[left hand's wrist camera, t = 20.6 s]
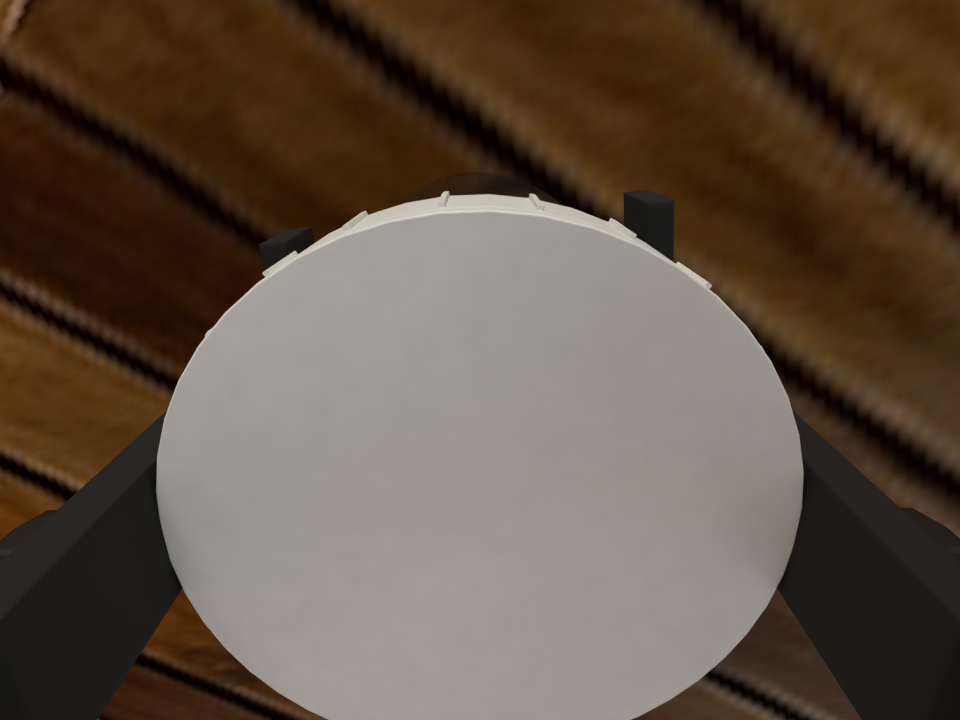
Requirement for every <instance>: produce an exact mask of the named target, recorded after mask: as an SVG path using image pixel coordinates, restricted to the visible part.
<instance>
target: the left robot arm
mask: <svg viewBox="0 0 960 720" xmlns="http://www.w3.org/2000/svg"><path fill="white" fill-rule="evenodd" d="M792 412H793V415H794V419H795V422H796V425H797V429H798V432H799V438H800V446H801V454H802V463H803V471H804V475H803V500H802V511H801V515H800V520H799V524H798V528H797V533H796V537H795V541H794V545H793V549H792V552H791V556H790V558H789V561H788V564H787V567H786V569H785V572H784V575H783V577H782V579H781V581H780V583H779V584H778V586H777V588H778V590H779V592H780V593H781V595H782V596H783V598H784V599H785V601H786V602H787V604H788V605H789V607H790V609H791V610H792V612H793V613H794V615H795V616H796V618H797V619H798V621H799V623H800V624H801V626H802V627H803V629H804V630H805V632H806V633H807V635H808V637H809V638H810V640H811V641H812V643H813V644H814V646H815V647H816V649H817V651H818V652H819V654H820V655H821V657H822V658H823V660H824V661H825V663H826V665H827V666H828V668H829V669H830V671H831V672H832V674H833V675H834V677H835V678H836V680H837V682H838V683H839V685H840V686H841V688H842V689H843V691H844V692H845V694H846V696H847V697H848V699H849V700H850V702H851V703H852V705H853V706H854V708H855V710H856V711H857V713H858V714H859V716H860V717H861V719H862V720H960V538H958V537H957V536H956V535H955V534H954V533H953V532H951V531H950V530H949V529H948V528H947V527H945V526H943V525H942V524H940V523H938V522H936V521H934V520H933V519H931V518H929V517H927V516H925V515H924V514H922V513H920V512H918V511H916V510H915V509H913V508H899V507H898V506H897V505H896V504H895V503H894V502H893V501H891V500H890V499H889V498H888V497H887V496H886V495H885V494H884V493H883V492H882V491H880V490H879V489H878V488H877V487H876V486H875V485H874V484H873V483H872V482H871V481H869V480H868V479H867V478H866V477H865V476H864V475H863V474H862V473H861V472H860V471H858V470H857V469H856V468H855V467H854V466H853V465H852V464H851V463H850V462H849V461H847V460H846V459H845V458H844V457H843V456H842V455H841V454H840V453H839V452H838V451H836V450H835V449H834V448H833V447H832V446H831V445H830V444H829V443H828V442H827V441H825V440H824V439H823V438H822V437H821V436H820V435H819V434H818V433H817V432H816V431H814V430H813V429H812V428H811V427H810V426H809V425H808V424H807V423H806V422H805V421H803V420H802V419H801V418H800V417H799V416H798V415H797V414H796V413H795V412H794V411H792ZM166 413H167V411H166V412H165V413H164V414H163V415H162V416H161V417H159V418H158V419H157V420H156V421H155V422H154V423H153V424H152V425H151V426H150V427H148V428H147V429H146V430H145V431H144V432H143V433H142V434H141V435H140V436H139V437H137V438H136V439H135V440H134V441H133V442H132V443H131V444H130V445H129V446H128V447H126V448H125V449H124V450H123V451H122V452H121V453H120V454H119V455H118V456H117V457H115V458H114V459H113V460H112V461H111V462H110V463H109V464H108V465H107V466H106V467H104V468H103V469H102V470H101V471H100V472H99V473H98V474H97V475H96V476H95V477H93V478H92V479H91V480H90V481H89V482H88V483H87V484H86V485H85V486H84V487H82V488H81V489H80V490H79V491H78V492H77V493H76V494H75V495H74V496H73V497H71V498H70V499H69V500H68V501H67V502H66V503H65V504H64V505H63V506H62V507H60V508H59V509H58V510H47V511H46V512H44V513H42V514H40V515H39V516H37V517H35V518H33V519H31V520H30V521H28V522H26V523H24V524H22V525H21V526H19V527H17V528H15V529H14V530H12V531H11V532H10V533H9V534H8V535H7V536H6V537H4V538H3V539H2V540H1V541H0V720H98V718H99V717H100V715H101V714H102V712H103V711H104V709H105V707H106V706H107V704H108V703H109V701H110V700H111V698H112V697H113V695H114V693H115V692H116V690H117V689H118V687H119V686H120V684H121V683H122V681H123V679H124V678H125V676H126V675H127V673H128V672H129V670H130V669H131V667H132V665H133V664H134V662H135V661H136V659H137V658H138V656H139V655H140V653H141V652H142V650H143V648H144V647H145V645H146V644H147V642H148V641H149V639H150V638H151V636H152V634H153V633H154V631H155V630H156V628H157V627H158V625H159V624H160V622H161V620H162V619H163V617H164V616H165V614H166V613H167V611H168V610H169V608H170V606H171V605H172V603H173V602H174V600H175V599H176V597H177V596H178V594H179V592H180V591H181V589H182V585H181V583H180V581H179V579H178V577H177V574H176V572H175V570H174V568H173V566H172V563H171V561H170V558H169V554H168V550H167V547H166V543H165V539H164V535H163V531H162V527H161V522H160V518H159V510H158V503H157V495H156V481H157V454H158V449H159V444H160V439H161V434H162V429H163V423H164V418H165V416H166Z"/></svg>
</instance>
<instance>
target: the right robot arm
mask: <svg viewBox="0 0 960 720" xmlns="http://www.w3.org/2000/svg"><path fill="white" fill-rule="evenodd" d="M624 226H625V227H626V228H627V229H629V230H630V231H632V232H633V233H635V234H636V235H637V236H636V238H638V239H640V240H642V241H643V242H645V243H647V244H648V245H649V246H651V247H652V248H654V249H655V250H657V251H658V252H659V253H661V254H662V255H664V256H665V257H667V258H668V259H669V260H671V261H672V262H673V242H674V200H672V199H670V198H667V197H664V196H662V195H659V194H656V193H654V192H651V191H649V190H645V191H636V192H626V193H624ZM313 244H314V238H313V233H312V229H311V227H303V228H294V229H287V230H286V231H284V232H282V233H280V234H278V235H276V236H274V237H273V238H271V239H269V240H267V241H265V242H263V243H261V244H259V248H260V252H261V256H262V260H263V264H264V268H265V271H266V270H267V269H268V268H270V267H271V266H273V265H274V264H276V263H277V262H279V261H280V260H282V259H283V258H285V257H286V256H288V255H289V254H291V253H292V252H294V251H296V252H297V253H298V254H299V253H301V252H302V251H304V250H305V249H307V248H308V247H310V246H311V245H313Z"/></svg>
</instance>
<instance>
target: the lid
mask: <svg viewBox="0 0 960 720" xmlns="http://www.w3.org/2000/svg"><path fill="white" fill-rule="evenodd" d="M636 236H637V235H636V234H635V233H633V232H632V231H630V230H629V229H627V228H626V227H625V226H623V225H622V224H620V223H619V222H617V221H616V220H614V219H612V218H610V220H609V222H607V221H604V220H601V219H599V218H596V217H594V216H591V215H589V214H586V213H584V212H581V211H578V210H576V209H573V208H570V207H565V206H561V205H557V204H553V203H549V202H544V201H540V200H539V198H538V197H537V196H536V195H535V194H529V198H522V197H512V196H502V195H492V194H483V195H457V196H450V194H449V191H445V192H443V193H442V195H441V197H438V198H432V199H426V200H420V201H415V202H409V203H404V204H401V205H398V206H395V207H392V208H389V209H385V210H382V211H379V212H376V213H373V214H370V215H368V214H367V212H366V211H364V212H362V213H360V214H359V215H357V216H356V217H354V218H353V219H352V220H350V221H349V222H348V223H346V224H345V225H343V226H342V228H340V229H337V230H335V231H333V232H331V233H329V234H328V235H326V236H325V237H323V238H322V239H320V240H319V241H317V242H316V243H314V244H313V245H311V246H310V247H308V248H307V249H305V250H304V251H302V252H301V253H299V254H298V253H297V252H296V251H294V252H292V253H291V254H289V255H288V256H286V257H285V258H283V259H282V260H280V261H279V262H277V263H276V264H274V265H273V266H271V267H270V268H268V269H267V270H266V271H264V272H263V273H262V274H263V275H264V276H265V278H264V279H262V280H261V281H260V282H258V283H257V284H256V285H255V286H254V287H253V288H252V289H250V290H249V291H248V292H247V293H246V294H245V295H244V296H243V297H242V298H241V299H240V300H238V301H237V302H236V303H235V304H234V305H233V306H232V307H231V308H230V309H229V310H227V311H226V312H225V313H224V315H223V316H222V317H221V318H220V320H219V321H218V322H217V323H216V325H215V326H214V327H213V328H212V329H210V330H209V331H208V332H207V333H206V335H205V338H204V340H203V341H202V342H201V343H200V345H199V346H198V347H197V349H196V351H195V353H194V354H193V356H192V358H191V360H190V361H189V363H188V365H187V367H186V369H185V370H184V372H183V374H182V376H181V377H180V379H179V381H178V383H177V386H176V389H175V391H174V394H173V397H172V399H171V402H170V405H169V407H168V410H167V413H166V416H165V418H164V423H163V429H162V434H161V439H160V444H159V449H158V454H157V481H156V495H157V503H158V510H159V518H160V522H161V527H162V531H163V535H164V539H165V543H166V547H167V550H168V554H169V558H170V561H171V563H172V566H173V568H174V570H175V572H176V574H177V577H178V579H179V581H180V583H181V585H182V588H183V590H184V592H185V594H186V595H187V597H188V598H189V600H190V602H191V603H192V605H193V606H194V608H195V610H196V611H197V613H198V614H199V616H200V617H201V619H202V621H203V622H204V623H205V624H206V626H207V627H208V628H209V629H210V630H211V632H212V633H213V634H214V635H215V637H216V638H217V639H218V640H219V641H220V643H221V644H222V645H223V646H224V647H225V648H226V649H227V650H228V651H229V652H230V653H231V654H232V655H233V656H234V657H235V658H236V659H237V660H238V661H239V662H240V663H241V664H243V665H244V666H245V667H246V668H247V669H248V670H249V671H250V672H251V673H253V674H254V675H255V676H257V677H258V678H259V679H261V680H262V681H263V682H265V683H266V684H267V685H269V686H270V687H271V688H273V689H274V690H275V691H277V692H278V693H280V694H281V695H283V696H285V697H286V698H288V699H290V700H292V701H293V702H295V703H297V704H298V705H300V706H302V707H303V708H305V709H307V710H309V711H311V712H313V713H315V714H317V715H319V716H322V717H324V718H326V719H328V720H632V719H634V718H636V717H639V716H641V715H643V714H645V713H646V712H648V711H650V710H652V709H654V708H656V707H658V706H659V705H661V704H663V703H665V702H667V701H669V700H670V699H672V698H673V697H675V696H676V695H678V694H679V693H681V692H682V691H684V690H685V689H687V688H688V687H690V686H691V685H693V684H694V683H695V682H697V681H698V680H700V679H701V678H702V677H703V676H704V675H705V674H707V673H708V672H709V671H710V670H711V669H712V668H714V667H715V666H716V665H717V664H718V663H719V662H721V661H722V660H723V659H724V658H725V657H726V656H727V655H728V654H729V653H730V652H731V651H732V649H733V648H734V647H735V646H736V645H737V644H738V643H739V642H740V641H741V640H742V639H743V638H744V636H745V635H746V634H747V633H748V632H749V630H750V629H751V628H752V626H753V625H754V623H755V622H756V621H757V619H758V618H759V616H760V615H761V614H762V612H763V611H764V609H765V608H766V607H767V605H768V603H769V601H770V600H771V598H772V596H773V594H774V592H775V590H776V588H777V586H778V584H779V583H780V581H781V579H782V577H783V575H784V572H785V569H786V567H787V564H788V561H789V558H790V556H791V552H792V549H793V545H794V541H795V537H796V533H797V528H798V524H799V520H800V515H801V511H802V500H803V475H804V471H803V463H802V454H801V446H800V438H799V432H798V429H797V425H796V422H795V419H794V415H793V412H792V408H791V405H790V401H789V398H788V396H787V394H786V392H785V389H784V387H783V385H782V383H781V381H780V379H779V377H778V375H777V373H776V371H775V368H774V366H773V364H772V362H771V361H770V359H769V358H768V356H767V355H766V353H765V352H764V349H763V348H762V346H760V345H759V343H758V342H757V340H756V339H755V337H754V336H753V335H752V333H751V332H750V330H749V329H748V327H747V326H746V325H745V324H744V323H743V322H742V321H741V320H740V319H739V318H738V317H737V316H736V315H735V314H734V313H733V312H732V311H731V309H730V308H729V307H728V306H727V305H726V304H725V303H724V302H723V301H722V300H721V299H720V298H719V297H718V296H717V295H716V294H715V293H713V292H712V291H711V290H709V289H710V288H711V287H712V285H711V284H710V283H709V282H707V281H706V280H704V279H703V278H701V277H700V276H698V275H697V274H695V273H694V272H693V271H691V270H690V269H688V268H687V267H685V266H684V265H682V264H681V263H679V262H677V263H676V264H675V263H674V262H672V261H671V260H669V259H668V258H667V257H665V256H664V255H662V254H661V253H659V252H658V251H657V250H655V249H654V248H652V247H651V246H649V245H648V244H647V243H645V242H643V241H642V240H640V239H638V238H636Z"/></svg>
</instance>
